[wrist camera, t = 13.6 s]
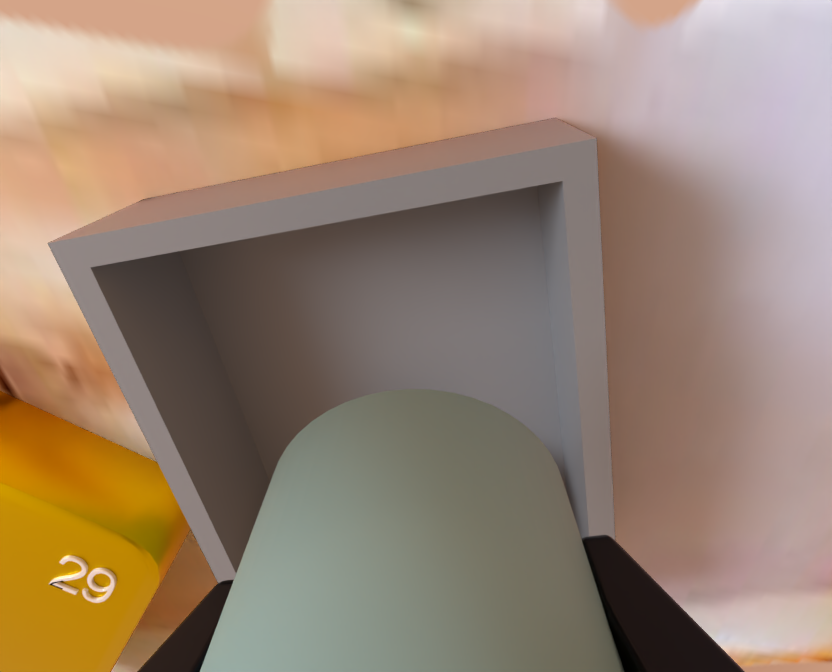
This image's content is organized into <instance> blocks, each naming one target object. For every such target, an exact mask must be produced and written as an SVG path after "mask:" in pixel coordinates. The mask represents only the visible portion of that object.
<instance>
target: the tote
mask: <svg viewBox="0 0 832 672" xmlns="http://www.w3.org/2000/svg"><path fill="white" fill-rule="evenodd" d="M48 245H49V247H50V249H51V251H52V253H53V255H54V257H55V259H56V261H57V263H58V265H59V267H60V269H61V271H62V273H63V275H64V277H65V279H66V281H67V283H68V285H69V287H70V289H71V291H72V293H73V295H74V297H75V299H76V301H77V303H78V305H79V307H80V309H81V311H82V313H83V315H84V317H85V319H86V321H87V323H88V325H89V327H90V329H91V331H92V333H93V335H94V337H95V339H96V341H97V343H98V345H99V347H100V349H101V351H102V353H103V355H104V357H105V359H106V361H107V363H108V365H109V367H110V369H111V371H112V373H113V375H114V377H115V379H116V381H117V383H118V385H119V387H120V389H121V391H122V393H123V395H124V397H125V399H126V401H127V403H128V404H129V406H130V408H131V410H132V412H133V414H134V416H135V418H136V420H137V422H138V424H139V426H140V428H141V430H142V432H143V434H144V436H145V438H146V440H147V442H148V444H149V446H150V448H151V450H152V452H153V454H154V456H155V458H156V460H157V462H158V464H159V466H160V468H161V470H162V472H163V474H164V476H165V478H166V480H167V482H168V484H169V486H170V488H171V490H172V492H173V494H174V496H175V498H176V500H177V502H178V504H179V506H180V508H181V510H182V512H183V514H184V516H185V518H186V520H187V522H188V524H189V526H190V528H191V530H192V532H193V534H194V536H195V538H196V540H197V542H198V544H199V546H200V548H201V550H202V552H203V554H204V556H205V558H206V560H207V562H208V564H209V566H210V568H211V570H212V572H213V574H214V576H215V578H216V580H217V582H218V583H220V582H222V581H226V580H234V578H235V576H236V573H237V570H238V568H239V565H240V562H241V560H242V557H243V554H244V552H245V549H246V546H247V543H248V541H249V538H250V535H251V533H252V530H253V527H254V525H255V522H256V519H257V517H258V514H259V511H260V509H261V506H262V503H263V500H264V498H265V495H266V492H267V490H268V487H269V484H270V482H271V479H272V476H273V474H274V471H275V469H276V466H277V464H278V461H279V459H280V457H281V456H282V454H283V452H284V451H285V449H286V447H287V446H288V445H289V444H290V442H291V441H292V440H293V439H294V438H295V436H296V435H297V434H298V433H299V432H300V431H301V430H302V429H304V428H305V427H306V426H307V425H308V424H309V423H310V422H312V421H313V420H314V419H316V418H318V417H319V416H321V415H322V414H324V413H325V412H327V411H328V410H330V409H333V408H335V407H337V406H339V405H341V404H343V403H345V402H348V401H351V400H354V399H357V398H359V397H362V396H365V395H370V394H375V393H380V392H384V391H393V390H403V389H430V390H438V391H445V392H452V393H456V394H460V395H464V396H468V397H472V398H475V399H478V400H480V401H483V402H485V403H488V404H491V405H493V406H495V407H497V408H499V409H501V410H502V411H504V412H506V413H508V414H510V415H511V416H513V417H514V418H516V419H517V420H518V421H520V422H521V423H523V424H524V425H525V426H526V427H528V428H529V429H530V430H531V431H532V432H533V433H534V434H535V435H536V436H537V437H538V438H539V439H540V440H541V442H542V443H543V444H544V445H545V447H546V448H547V449H548V450H549V452H550V454H551V455H552V457H553V459H554V461H555V462H556V464H557V466H558V469H559V472H560V474H561V477H562V480H563V483H564V486H565V489H566V492H567V495H568V498H569V502H570V505H571V508H572V511H573V514H574V517H575V520H576V523H577V526H578V529H579V532H580V535H581V538H584V537H589V536H597V535H608V536H610V537H612V538H613V539H614V540H615V522H614V501H613V480H612V458H611V437H610V416H609V394H608V373H607V351H606V330H605V309H604V287H603V266H602V245H601V223H600V202H599V180H598V159H597V138H595V137H593V136H591V135H589V134H587V133H585V132H583V131H581V130H579V129H577V128H575V127H573V126H571V125H569V124H567V123H565V122H563V121H561V120H559V119H557V118H552V119H547V120H542V121H537V122H532V123H527V124H522V125H517V126H512V127H507V128H501V129H496V130H491V131H486V132H481V133H476V134H471V135H466V136H461V137H456V138H451V139H446V140H441V141H436V142H431V143H426V144H421V145H415V146H410V147H405V148H400V149H395V150H390V151H385V152H380V153H375V154H370V155H365V156H360V157H355V158H350V159H345V160H340V161H335V162H329V163H324V164H319V165H314V166H309V167H304V168H299V169H294V170H289V171H284V172H279V173H274V174H269V175H264V176H259V177H254V178H249V179H243V180H238V181H233V182H228V183H223V184H218V185H213V186H208V187H203V188H198V189H193V190H188V191H183V192H178V193H173V194H168V195H163V196H158V197H152V198H147V199H143V200H141V201H139V202H137V203H135V204H132V205H130V206H128V207H126V208H124V209H121V210H119V211H117V212H115V213H113V214H110V215H108V216H106V217H104V218H102V219H99V220H97V221H95V222H93V223H91V224H88V225H86V226H84V227H82V228H80V229H78V230H75V231H73V232H71V233H69V234H67V235H64V236H62V237H60V238H58V239H56V240H53V241H51V242H49V243H48Z"/></svg>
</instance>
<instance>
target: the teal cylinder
mask: <svg viewBox="0 0 832 672" xmlns="http://www.w3.org/2000/svg"><path fill="white" fill-rule="evenodd" d="M200 672H625V671H624V668H623V665H622V661H621V659H620V656H619V653H618V650H617V647H616V644H615V641H614V638H613V635H612V632H611V629H610V626H609V623H608V620H607V617H606V614H605V611H604V608H603V604H602V601H601V598H600V595H599V592H598V589H597V586H596V583H595V580H594V577H593V574H592V571H591V567H590V564H589V561H588V558H587V555H586V552H585V549H584V546H583V542H582V538H581V535H580V532H579V529H578V526H577V523H576V520H575V517H574V514H573V511H572V508H571V505H570V502H569V498H568V495H567V492H566V489H565V486H564V483H563V480H562V477H561V474H560V472H559V469H558V466H557V464H556V462H555V461H554V459H553V457H552V455H551V454H550V452H549V450H548V449H547V448H546V447H545V445H544V444H543V443H542V442H541V440H540V439H539V438H538V437H537V436H536V435H535V434H534V433H533V432H532V431H531V430H530V429H529V428H528V427H526V426H525V425H524V424H523V423H521V422H520V421H518V420H517V419H516V418H514V417H513V416H511V415H510V414H508V413H506V412H504V411H502V410H501V409H499V408H497V407H495V406H493V405H491V404H488V403H485V402H483V401H480V400H478V399H475V398H472V397H468V396H464V395H460V394H456V393H452V392H445V391H438V390H430V389H403V390H393V391H384V392H380V393H375V394H370V395H365V396H362V397H359V398H357V399H354V400H351V401H348V402H345V403H343V404H341V405H339V406H337V407H335V408H333V409H330V410H328V411H327V412H325V413H324V414H322V415H321V416H319V417H318V418H316V419H314V420H313V421H312V422H310V423H309V424H308V425H307V426H306V427H305V428H304V429H302V430H301V431H300V432H299V433H298V434H297V435H296V436H295V438H294V439H293V440H292V441H291V442H290V444H289V445H288V446H287V447H286V449H285V451H284V452H283V454H282V456H281V457H280V459H279V461H278V464H277V466H276V469H275V471H274V474H273V476H272V479H271V482H270V484H269V487H268V490H267V492H266V495H265V498H264V500H263V503H262V506H261V509H260V511H259V514H258V517H257V519H256V522H255V525H254V527H253V530H252V533H251V535H250V538H249V541H248V543H247V546H246V549H245V552H244V554H243V557H242V560H241V562H240V565H239V568H238V570H237V573H236V576H235V578H234V581H233V584H232V586H231V589H230V592H229V595H228V597H227V600H226V603H225V605H224V608H223V611H222V613H221V616H220V619H219V621H218V624H217V627H216V629H215V632H214V635H213V638H212V640H211V643H210V646H209V648H208V651H207V654H206V656H205V659H204V662H203V664H202V667H201V670H200Z"/></svg>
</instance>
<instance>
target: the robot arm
mask: <svg viewBox="0 0 832 672" xmlns="http://www.w3.org/2000/svg"><path fill="white" fill-rule="evenodd" d="M582 542H583V546H584V549H585V552H586V555H587V558H588V561H589V564H590V567H591V571H592V574H593V577H594V580H595V583H596V586H597V589H598V592H599V595H600V598H601V601H602V604H603V608H604V611H605V614H606V617H607V620H608V623H609V626H610V629H611V632H612V635H613V638H614V641H615V644H616V647H617V650H618V653H619V656H620V659H621V661H622V665H623V668H624V671H625V672H744V671H743V670H742V669H741V667H740V666H739V665H738V664H737V663H736V662H735V661H734V660H733V659H732V658H731V657H730V656H729V655H728V654H727V653H726V652H725V651H724V650H723V649H722V648H721V647H720V646H719V645H718V644H717V643H716V642H715V641H714V640H713V639H712V638H711V637H710V636H709V635H708V634H707V633H706V632H705V631H704V630H703V629H702V628H701V627H700V626H699V625H698V624H697V623H696V622H695V621H694V620H693V619H692V618H691V617H690V616H689V615H688V614H687V613H686V612H685V611H684V610H683V609H682V608H681V607H680V606H679V605H678V604H677V603H676V602H675V601H674V600H673V599H672V598H671V597H670V596H669V595H668V594H667V593H666V592H665V591H664V590H663V589H662V588H661V587H660V586H659V585H658V584H657V583H656V582H655V581H654V580H653V579H652V578H651V576H650V575H649V574H648V573H647V572H646V571H645V570H644V569H643V568H642V567H641V566H640V565H639V564H638V563H637V562H636V561H635V560H634V559H633V558H632V557H631V556H630V555H629V554H628V553H627V552H626V551H625V550H624V549H623V548H622V547H621V546H620V545H619V544H618V543H617V542H616V541H615V540H614V539H613V538H612V537H610V536H608V535H597V536H589V537H584V538H582ZM233 581H234V580H226V581H222V582H220V583H218V584H217V585H216V586H215V587H214V588H213V589H212V590H211V591H210V592H209V593H208V594H207V596H206V597H205V598H204V599H203V600H202V601H201V602H200V603H199V604H198V606H197V607H196V608H195V609H194V610H193V611H192V612H191V613H190V614H189V615H188V617H187V618H186V619H185V620H184V621H183V622H182V623H181V624H180V625H179V627H178V628H177V629H176V630H175V631H174V632H173V633H172V634H171V635H170V636H169V638H168V639H167V640H166V641H165V642H164V643H163V644H162V645H161V646H160V648H159V649H158V650H157V651H156V652H155V653H154V654H153V655H152V656H151V657H150V659H149V660H148V661H147V662H146V663H145V664H144V665H143V666H142V667H141V669H140V670H139V671H138V672H200V670H201V667H202V664H203V662H204V659H205V656H206V654H207V651H208V648H209V646H210V643H211V640H212V638H213V635H214V632H215V629H216V627H217V624H218V621H219V619H220V616H221V613H222V611H223V608H224V605H225V603H226V600H227V597H228V595H229V592H230V589H231V586H232V584H233Z"/></svg>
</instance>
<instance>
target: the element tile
mask: <svg viewBox="0 0 832 672" xmlns="http://www.w3.org/2000/svg"><path fill="white" fill-rule="evenodd" d="M190 529H191V528H190V526H189V524H188V522H187V520H186V518H185V516H184V514H183V512H182V510H181V508H180V506H179V504H178V502H177V500H176V498H175V496H174V494H173V492H172V490H171V488H170V486H169V484H168V482H167V480H166V478H165V476H164V474H163V472H162V470H161V468H160V466H159V464H158V463H157V462H155V461H153V460H150V459H148V458H146V457H144V456H142V455H140V454H137V453H135V452H133V451H131V450H129V449H126V448H124V447H122V446H120V445H118V444H115V443H113V442H111V441H109V440H107V439H104V438H102V437H100V436H98V435H96V434H93V433H91V432H89V431H87V430H85V429H83V428H80V427H78V426H76V425H74V424H72V423H69V422H67V421H65V420H63V419H61V418H58V417H56V416H54V415H52V414H50V413H47V412H45V411H43V410H41V409H39V408H36V407H34V406H32V405H30V404H28V403H26V402H23V401H21V400H19V399H17V398H15V397H12V396H10V395H8V394H6V393H4V392H1V391H0V672H111V671H112V669H113V667H114V665H115V664H116V662H117V660H118V658H119V656H120V655H121V653H122V651H123V649H124V648H125V646H126V644H127V642H128V641H129V639H130V637H131V635H132V634H133V632H134V630H135V628H136V627H137V625H138V623H139V621H140V619H141V618H142V616H143V614H144V612H145V611H146V609H147V607H148V605H149V604H150V602H151V600H152V598H153V597H154V595H155V593H156V591H157V590H158V588H159V586H160V584H161V582H162V581H163V579H164V577H165V575H166V573H167V571H168V570H169V568H170V566H171V564H172V562H173V560H174V559H175V557H176V555H177V553H178V551H179V549H180V547H181V546H182V544H183V542H184V540H185V538H186V536H187V535H188V533H189V531H190Z"/></svg>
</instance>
